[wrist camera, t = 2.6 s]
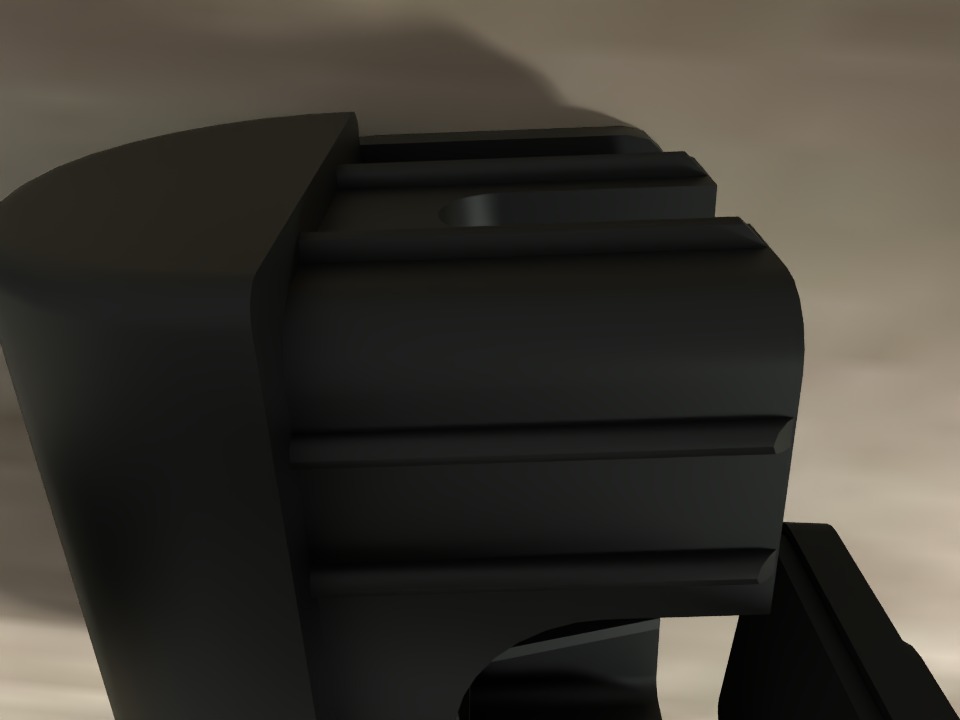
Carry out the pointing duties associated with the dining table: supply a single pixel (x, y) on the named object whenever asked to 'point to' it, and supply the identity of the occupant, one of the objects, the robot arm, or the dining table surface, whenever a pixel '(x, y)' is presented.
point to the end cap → (399, 415)
